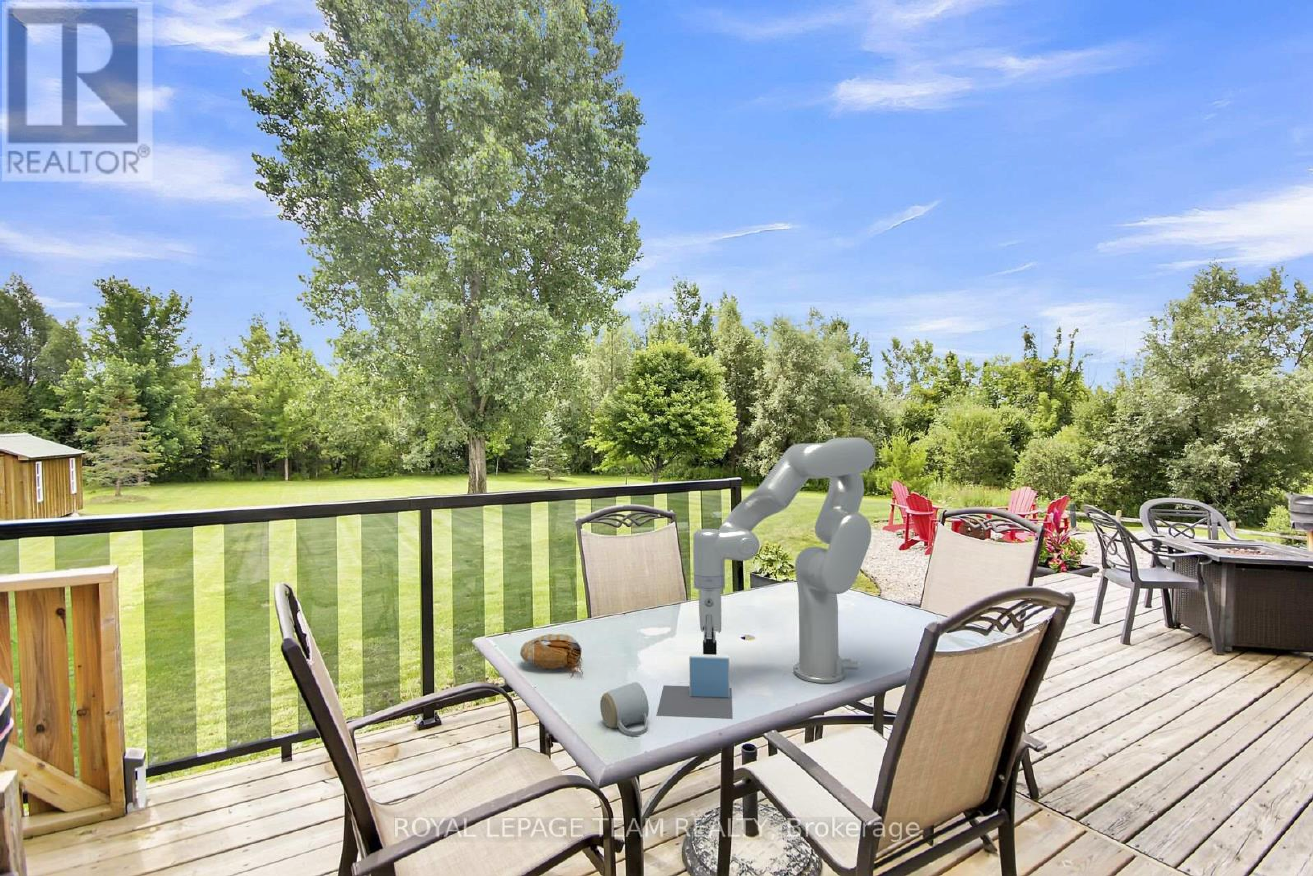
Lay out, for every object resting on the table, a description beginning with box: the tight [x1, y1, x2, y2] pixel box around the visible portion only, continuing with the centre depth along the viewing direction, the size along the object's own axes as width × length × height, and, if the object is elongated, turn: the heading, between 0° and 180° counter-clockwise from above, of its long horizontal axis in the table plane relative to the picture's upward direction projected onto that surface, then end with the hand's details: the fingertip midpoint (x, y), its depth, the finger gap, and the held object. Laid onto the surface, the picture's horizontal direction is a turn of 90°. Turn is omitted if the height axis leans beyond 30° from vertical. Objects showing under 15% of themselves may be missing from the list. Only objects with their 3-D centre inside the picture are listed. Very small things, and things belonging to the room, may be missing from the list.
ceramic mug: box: [599, 681, 650, 738], centre depth 122 cm, size 11×8×8 cm
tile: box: [688, 653, 731, 698], centre depth 135 cm, size 9×2×9 cm, turn 84°
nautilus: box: [519, 633, 584, 678], centre depth 154 cm, size 8×22×15 cm
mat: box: [656, 684, 734, 720], centre depth 132 cm, size 16×16×1 cm
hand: (709, 657), depth 143 cm, fingers closed
